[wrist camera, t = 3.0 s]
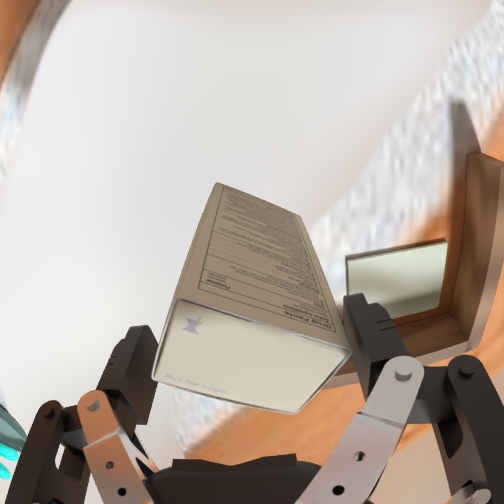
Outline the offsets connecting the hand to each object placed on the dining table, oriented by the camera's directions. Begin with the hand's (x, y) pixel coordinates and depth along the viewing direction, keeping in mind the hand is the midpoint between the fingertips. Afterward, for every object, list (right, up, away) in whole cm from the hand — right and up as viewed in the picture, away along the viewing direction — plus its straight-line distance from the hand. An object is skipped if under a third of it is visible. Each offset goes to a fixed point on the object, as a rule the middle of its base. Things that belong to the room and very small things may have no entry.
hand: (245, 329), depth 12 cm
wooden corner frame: (+9, +2, +10) cm, 13 cm away
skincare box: (0, +5, +9) cm, 10 cm away
